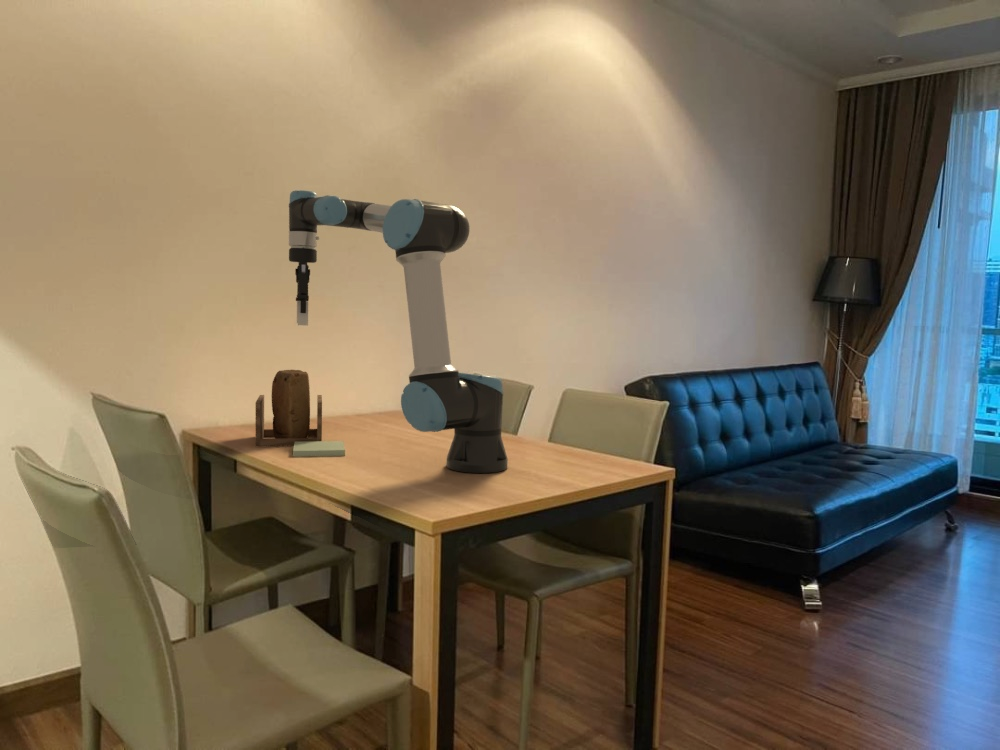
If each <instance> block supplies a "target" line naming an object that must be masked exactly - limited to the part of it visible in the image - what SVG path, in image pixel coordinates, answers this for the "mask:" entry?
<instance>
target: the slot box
mask: <svg viewBox="0 0 1000 750" xmlns="http://www.w3.org/2000/svg"><path fill="white" fill-rule="evenodd" d="M316 397H317V398H316V399H317V400H316V401H317V403H316V405H317V406H316V407H317V409H316V411H317V412H316V413H317V414H316V418H317V420H316V428H310V429H309V432H308V434H307V438H275V437H274V435H273V428H267V429H266V428H265V395H264V394H260V395H259V396H258V397H257V399H256V401H255V448H257V447H260V448H262V447H264V448H266V447H294V442H303V441H323V438H322V437H323V436H322V435H323V432H322V431H323V399H322V397H323V396H322V394H317V396H316ZM266 437H267V438H266ZM268 437H269V438H268Z"/></svg>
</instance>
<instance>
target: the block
mask: <svg viewBox="0 0 1000 750" xmlns="http://www.w3.org/2000/svg"><path fill="white" fill-rule="evenodd" d="M271 384H272V385H271V407H272V408H271V410H272V415H273V418H272V429H273V435H274V437H273V438H308V436H307V434H308V432H309V429H311V428H310V427H311V426H310V425H311V393H310V387H311V386H310V379H309V373H308V372H307V371H302V370H300V369H284V370H283V369H282V370H278V371H277V372H276V374H275V375H274V378H273V379H272V383H271Z"/></svg>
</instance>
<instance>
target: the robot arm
mask: <svg viewBox="0 0 1000 750" xmlns="http://www.w3.org/2000/svg"><path fill="white" fill-rule="evenodd" d="M288 221H289V222H288V224H289V225H288V229H289V231H288V246H289V247H290V248H289V249H288V260H289V262H291V263H298V265H297V267H296V268H295V271H294V272H295V282H296V283H297V286H296V287H297V289H296V290H297V291H296V292H297V293H296V297H295V301H296V324H297V326H309V299H310V298H309V297H310V296H309V283H310V276H311V269H310V267H309V265H308V264H312V263H313V264H315V263H317V260H318V259H317V257H318V256H317V253H318V251H317V249H316V248H317V244H318V243H317V241H319V240H320V237H319V236H317V235H318V226H328V227H329V226H330V227H338V228H345V229H346V228H347V229H348V228H350V229H355V230H356V229H358V230H365V231H370V232H377V233H382V237H383V240H384V242H385V244H386V245H387V246H388V248H390V249H392V250H394V251H395V259H396V260H395V261H396V262H397V263H399V264H400V265H401V266H402V267H403V273H404V283H405V291H406V301H407V310H408V319H409V328H410V337H411V338H410V339H411V346H412V347H411V348H412V355H413V365H414V368H413V370H412V371H411V372H410V374H409V375H408V380H409V383H408V384H407V385H405V386H404V387H403V390H402V394H401V395H400V405H401V406H400V407H401V410H402V413H403V416H404V419H405V420H406V421H407V423H409V424H410V425H411V427H412V428H413V429H415V430H417V431H419V432H422V433H425V432H426V433H429V432H433V433H435V432H437V433H438V432H441V431H446V430H447V431H448V430H454V431H453V432H454V433H453V438H452V442H451V444H450V448H449V450H448V453H447V455H446V464H445V465H446V468H448V469H449V470H452V471H455V472H461V473H462V472H463V473H469V474H470V473H471V474H472V473H473V474H488V473H489V474H491V473H497V472H502V471H505V470H507V469H508V463H509V462H508V461H509V460H508V456H507V452H506V448H505V445H504V442H503V438H502V429H503V428H502V427H503V426H502V423H503V402H504V400H503V399H504V392H503V390H504V389H503V381H502V379H501V378H500V377H498V376H491V375H490V376H489V375H481V374H473V373H467V372H466V373H465V372H459V369H457V368H456V367H455V366H454V365H453V364H452V360H451V351H450V340H449V333H448V324H447V316H446V315H447V313H446V305H445V296H444V287H443V286H444V285H443V278H442V270H441V262H442V261H443V260H444V258H445V257H446V254H449V253H453V252H456V251H457V250H460V249H461V248H462V247H463V246H464V245H465V244H466V242H467V241H468V238H469V235H470V223H469V220H468V218H467V216H466V215H465V213H464V212H463V211H462V210H460V209H459V208H458V207H456V206H454V205H450V204H443V203H439V202H430V201H426V200H420V199H418V198H417V199H416V198H415V199H408V198H407V199H406V198H403V199H399V200H397V201H396V202H394V203H393V204H392V205H389V204H380V203H375V202H367V201H365V202H364V201H359V200H351V199H345V198H344V199H343V198H340V197H339V196H336V195H324V196H318V194H317V192H315V191H313V190H312V191H310V190H301V189H300V190H292V191H290V194H289V203H288Z"/></svg>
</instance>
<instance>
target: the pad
mask: <svg viewBox="0 0 1000 750" xmlns="http://www.w3.org/2000/svg"><path fill="white" fill-rule="evenodd" d="M345 456H346V448H345V442H344V440H332V441H331V440H322V441H303V442H294V446H293V449H292V457H295V458H296V457H297V458H299V457H345Z"/></svg>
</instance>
